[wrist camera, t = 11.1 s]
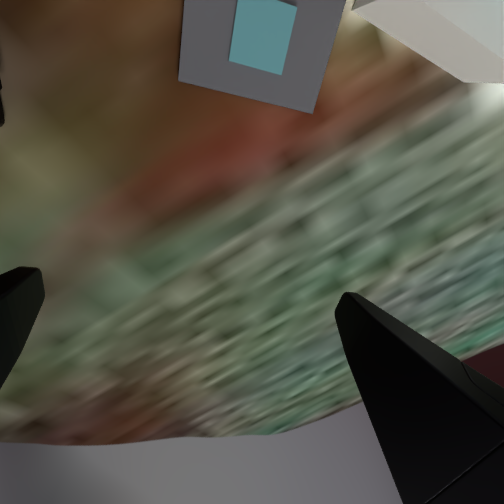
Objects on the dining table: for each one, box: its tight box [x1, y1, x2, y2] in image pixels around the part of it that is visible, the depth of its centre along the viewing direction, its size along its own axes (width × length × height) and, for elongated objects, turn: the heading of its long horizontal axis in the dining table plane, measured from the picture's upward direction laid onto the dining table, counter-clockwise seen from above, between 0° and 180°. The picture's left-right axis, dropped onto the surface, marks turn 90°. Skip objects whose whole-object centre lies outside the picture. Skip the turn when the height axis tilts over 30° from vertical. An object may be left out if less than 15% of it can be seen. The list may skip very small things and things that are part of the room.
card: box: [178, 0, 346, 114], centre depth 15 cm, size 8×6×1 cm
